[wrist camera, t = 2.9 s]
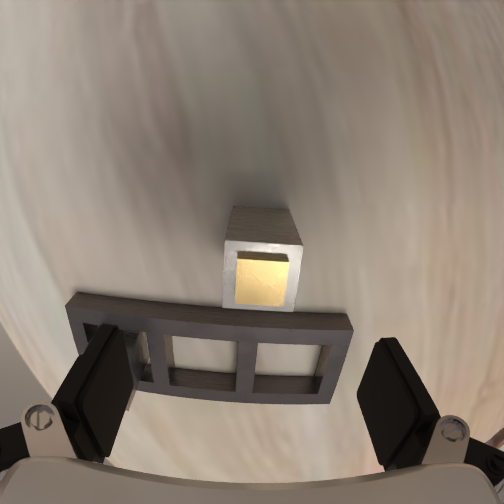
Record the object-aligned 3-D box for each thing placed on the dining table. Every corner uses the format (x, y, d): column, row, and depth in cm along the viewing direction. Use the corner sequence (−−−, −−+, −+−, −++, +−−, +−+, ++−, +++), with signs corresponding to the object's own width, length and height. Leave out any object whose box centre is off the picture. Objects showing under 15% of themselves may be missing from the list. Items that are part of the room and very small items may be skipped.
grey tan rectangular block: (104, 318, 26) (69, 372, 19) (144, 323, 27) (116, 382, 20) (111, 350, 28) (83, 405, 21) (149, 356, 28) (126, 416, 21)
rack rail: (95, 364, 29) (87, 379, 27) (77, 291, 25) (65, 305, 23) (325, 386, 29) (329, 403, 27) (346, 313, 26) (353, 330, 24)
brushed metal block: (233, 206, 22) (223, 244, 15) (289, 210, 23) (305, 250, 16) (230, 257, 24) (221, 313, 17) (283, 261, 24) (294, 317, 17)
